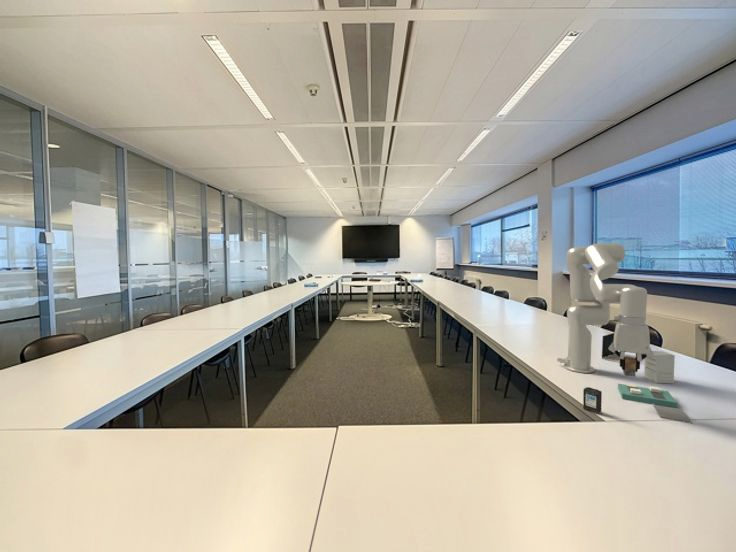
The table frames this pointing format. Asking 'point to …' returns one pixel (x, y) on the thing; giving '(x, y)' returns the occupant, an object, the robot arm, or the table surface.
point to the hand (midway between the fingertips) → (629, 369)
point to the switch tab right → (655, 389)
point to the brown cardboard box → (630, 366)
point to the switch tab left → (635, 391)
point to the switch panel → (647, 396)
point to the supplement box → (660, 367)
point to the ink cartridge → (592, 400)
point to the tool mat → (672, 413)
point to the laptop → (606, 352)
